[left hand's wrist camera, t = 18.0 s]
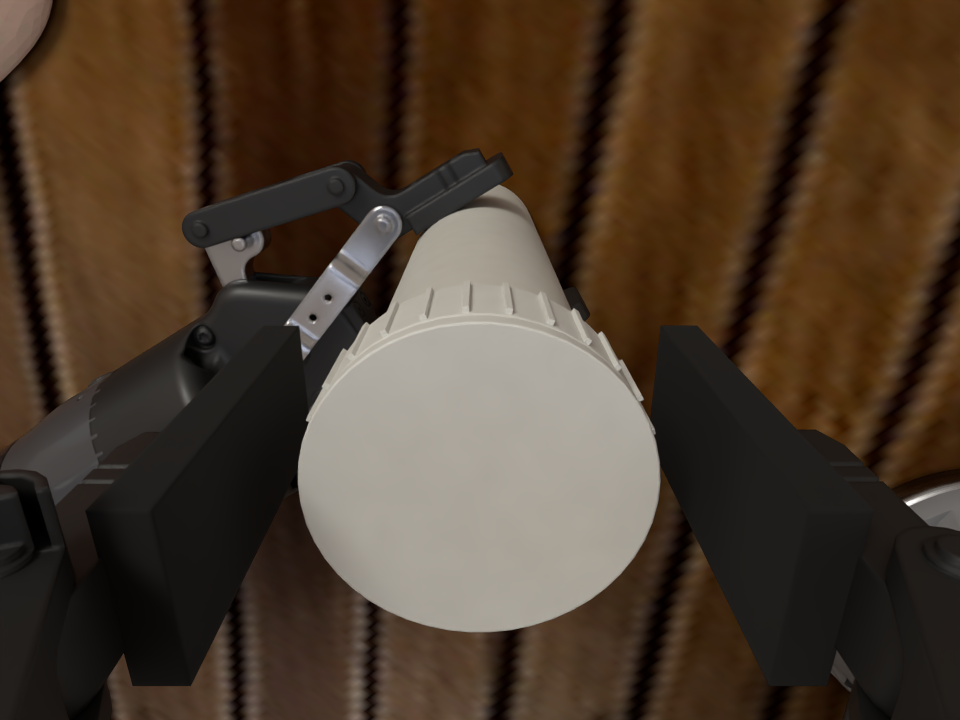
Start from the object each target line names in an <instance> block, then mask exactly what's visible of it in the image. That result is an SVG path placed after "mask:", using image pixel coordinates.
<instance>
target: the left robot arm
mask: <svg viewBox="0 0 960 720" xmlns="http://www.w3.org/2000/svg"><path fill="white" fill-rule="evenodd" d="M308 414H309V410H308V401H307V392H306V383H305V373H304V364H303V355H302V346H301V337H300V328H299V326H262V327H261V328H260V329H259V330H258V331H257V332H256V333H255V335H254V336H253V337H252V338H251V339H250V340H249V341H248V342H247V343H246V344H245V345H244V346H243V347H242V348H241V349H240V350H239V351H238V352H237V353H236V354H235V355H234V356H233V357H232V358H231V360H230V361H229V362H228V363H227V364H226V365H225V366H224V367H223V368H222V369H221V370H220V371H219V372H218V373H217V374H216V375H215V376H214V377H213V378H212V379H211V380H210V381H209V382H208V383H207V384H206V386H205V387H204V388H203V389H202V390H201V391H200V392H199V393H198V394H197V395H196V396H195V397H194V398H193V399H192V400H191V401H190V402H189V403H188V404H187V405H186V406H185V407H184V408H183V409H182V411H181V412H180V413H179V414H178V415H177V416H176V417H175V418H174V419H173V420H172V421H171V422H170V423H169V424H168V425H167V426H166V427H165V428H164V429H163V430H162V431H161V432H144V433H142V434H140V435H138V436H136V437H134V438H133V439H131V440H129V441H127V442H125V443H123V444H122V445H120V446H118V447H116V448H115V449H114V450H113V451H112V452H111V453H110V454H109V455H108V456H107V457H106V458H105V459H104V460H103V461H102V462H100V463H99V464H98V468H97V469H93V470H92V471H91V472H90V473H89V474H88V475H87V476H86V477H85V478H84V479H83V480H82V484H77V485H76V486H75V487H74V488H73V489H72V490H71V491H70V492H69V493H68V494H67V495H66V496H65V497H64V498H63V499H62V500H61V501H60V502H59V503H58V504H56V505H55V504H54V500H53V497H52V494H51V490H50V487H49V483H48V480H47V478H46V477H45V476H43V475H42V474H40V473H39V472H37V471H30V470H22V469H13V470H2V471H0V720H110V719H111V712H112V704H111V698H110V693H109V689H108V686H107V682H106V679H107V678H108V676H109V675H110V673H111V672H112V670H113V669H114V667H115V666H116V664H117V662H118V661H119V659H120V658H121V656H122V655H123V653H124V655H125V659H126V663H127V666H128V670H129V674H130V677H131V681H132V685H133V686H191V684H192V682H193V680H194V678H195V676H196V674H197V672H198V670H199V668H200V666H201V664H202V662H203V660H204V658H205V656H206V654H207V652H208V650H209V648H210V646H211V644H212V642H213V640H214V638H215V636H216V634H217V632H218V630H219V628H220V626H221V624H222V622H223V620H224V618H225V615H226V613H227V611H228V609H229V607H230V605H231V603H232V601H233V599H234V597H235V595H236V593H237V591H238V589H239V587H240V585H241V583H242V581H243V579H244V577H245V575H246V573H247V571H248V569H249V567H250V565H251V563H252V561H253V559H254V557H255V555H256V553H257V551H258V549H259V547H260V545H261V543H262V541H263V538H264V536H265V534H266V532H267V530H268V528H269V526H270V524H271V522H272V520H273V518H274V516H275V514H276V512H277V510H278V508H279V506H280V504H281V502H282V500H283V498H284V496H285V494H286V492H287V490H288V488H289V486H290V484H291V482H292V480H293V478H294V476H295V474H296V472H297V470H298V462H299V456H300V450H301V445H302V441H303V438H304V435H305V432H306V429H307V426H308V424H309V422H308V421H306V419H307V416H308ZM650 421H651V423H652V425H653V427H654V428H655V432H656V434H654V437H655V439H656V444H657V449H658V454H659V459H660V466H661V468H662V470H663V472H664V474H665V476H666V478H667V480H668V482H669V484H670V486H671V488H672V490H673V492H674V494H675V496H676V498H677V500H678V502H679V504H680V506H681V508H682V510H683V512H684V514H685V516H686V518H687V520H688V522H689V524H690V526H691V528H692V530H693V532H694V534H695V536H696V539H697V541H698V543H699V545H700V547H701V549H702V551H703V553H704V555H705V557H706V559H707V561H708V563H709V565H710V567H711V569H712V571H713V573H714V575H715V577H716V579H717V581H718V583H719V585H720V587H721V589H722V591H723V593H724V595H725V597H726V599H727V601H728V603H729V605H730V607H731V609H732V611H733V613H734V615H735V618H736V620H737V622H738V624H739V626H740V628H741V630H742V632H743V634H744V636H745V638H746V640H747V642H748V644H749V646H750V648H751V650H752V652H753V654H754V656H755V658H756V660H757V662H758V664H759V666H760V668H761V670H762V672H763V674H764V676H765V678H766V680H767V682H768V684H769V686H827V685H828V681H829V677H830V674H831V673H832V674H833V675H834V676H835V677H836V678H837V679H838V681H839V682H840V683H841V684H842V685H843V686H844V687H845V688H846V689H847V690H848V691H849V692H851V693H850V696H849V699H848V703H847V706H846V710H845V713H844V717H843V720H960V469H956V470H949V471H943V472H939V473H934V474H930V475H927V476H924V477H920V478H917V479H914V480H912V481H909V482H907V483H904V484H901V485H899V486H897V487H895V488H893V489H890V488H889V487H888V486H887V485H886V484H885V483H884V482H879V478H878V477H877V476H876V475H875V474H874V473H873V472H872V471H871V470H870V469H869V468H868V467H867V466H863V462H862V461H860V460H859V459H858V458H857V457H856V456H855V455H854V454H853V453H852V452H851V451H850V450H849V449H848V448H847V447H846V446H845V445H843V444H841V443H839V442H838V441H836V440H834V439H832V438H830V437H828V436H826V435H825V434H823V433H821V432H819V431H817V430H797V429H796V428H795V427H794V426H793V425H792V424H791V423H790V422H789V421H788V420H787V419H786V418H785V417H784V416H783V415H782V414H781V413H780V412H779V411H778V409H777V408H776V407H775V406H774V405H773V404H772V403H771V402H770V401H769V400H768V399H767V398H766V397H765V396H764V395H763V394H762V393H761V392H760V391H759V390H758V389H757V388H756V387H755V386H754V384H753V383H752V382H751V381H750V380H749V379H748V378H747V377H746V376H745V375H744V374H743V373H742V372H741V371H740V370H739V369H738V368H737V367H736V366H735V365H734V364H733V363H732V362H731V361H730V360H729V358H728V357H727V356H726V355H725V354H724V353H723V352H722V351H721V350H720V349H719V348H718V347H717V346H716V345H715V344H714V343H713V342H712V341H711V340H710V339H709V338H708V337H707V336H706V335H705V333H704V332H703V331H702V330H701V329H700V328H699V327H698V326H661V328H660V337H659V346H658V355H657V364H656V373H655V382H654V392H653V401H652V410H651V419H650Z"/></svg>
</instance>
